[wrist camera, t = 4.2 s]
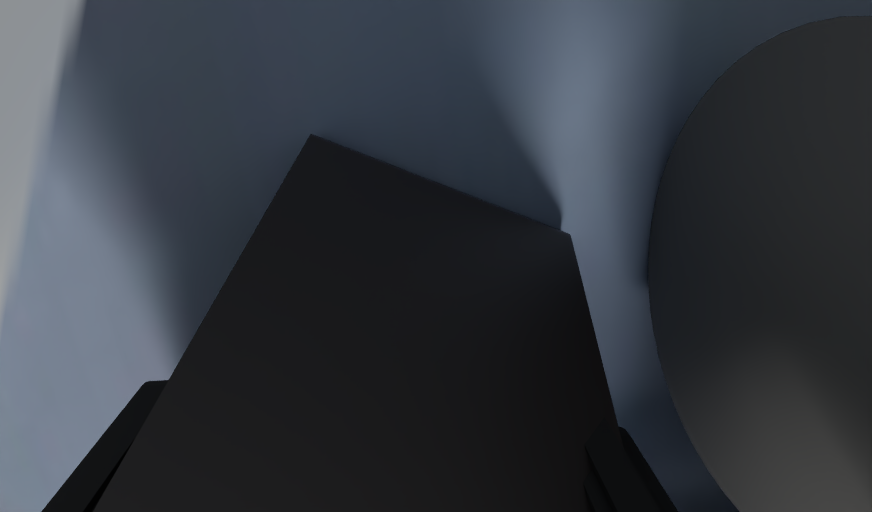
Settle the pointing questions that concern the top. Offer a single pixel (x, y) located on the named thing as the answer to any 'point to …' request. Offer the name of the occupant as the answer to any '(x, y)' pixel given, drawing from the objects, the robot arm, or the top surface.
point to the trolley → (774, 273)
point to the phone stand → (380, 360)
